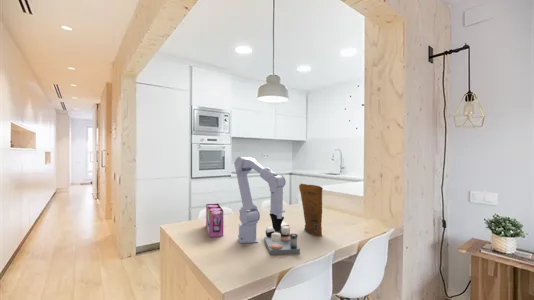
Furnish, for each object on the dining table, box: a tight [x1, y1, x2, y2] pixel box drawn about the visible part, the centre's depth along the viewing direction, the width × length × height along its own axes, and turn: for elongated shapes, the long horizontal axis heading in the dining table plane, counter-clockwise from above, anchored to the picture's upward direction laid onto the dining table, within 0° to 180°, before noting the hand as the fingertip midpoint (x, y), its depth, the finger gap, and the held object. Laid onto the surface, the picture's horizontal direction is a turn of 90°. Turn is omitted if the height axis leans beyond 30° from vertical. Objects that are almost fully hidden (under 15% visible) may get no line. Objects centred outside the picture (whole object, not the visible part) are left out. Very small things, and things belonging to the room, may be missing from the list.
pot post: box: [290, 233, 298, 249], centre depth 123 cm, size 4×4×6 cm
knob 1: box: [271, 233, 281, 242], centre depth 124 cm, size 4×4×3 cm
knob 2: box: [281, 226, 291, 235], centre depth 135 cm, size 4×4×3 cm
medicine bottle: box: [265, 221, 291, 237], centre depth 142 cm, size 7×7×12 cm
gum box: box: [205, 203, 224, 238], centre depth 153 cm, size 24×8×14 cm, turn 18°
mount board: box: [263, 236, 301, 256], centre depth 129 cm, size 14×18×2 cm
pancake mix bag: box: [298, 183, 323, 237], centre depth 152 cm, size 7×19×28 cm, turn 27°
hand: (276, 230), depth 124 cm, fingers open, 4 cm apart
